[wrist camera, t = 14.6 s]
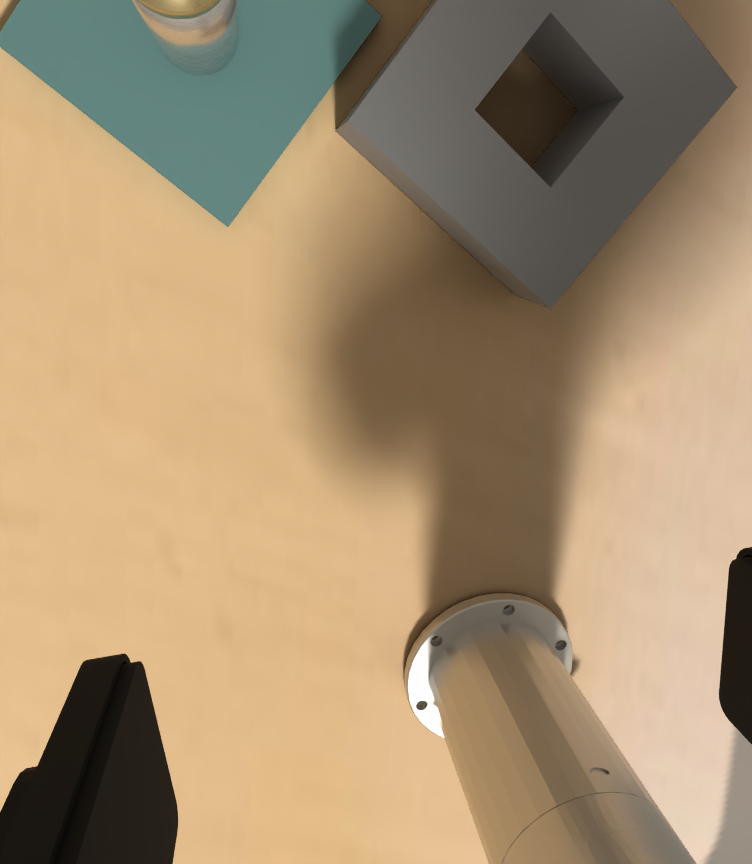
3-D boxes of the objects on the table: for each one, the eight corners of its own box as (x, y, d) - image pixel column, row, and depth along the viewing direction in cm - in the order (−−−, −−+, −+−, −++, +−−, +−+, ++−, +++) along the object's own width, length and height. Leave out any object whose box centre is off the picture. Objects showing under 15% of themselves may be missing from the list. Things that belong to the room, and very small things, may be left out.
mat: (379, 20, 34) (381, 16, 33) (228, 226, 36) (227, 227, 35) (158, -204, 29) (155, -215, 29) (0, 45, 31) (-7, 41, 31)
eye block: (677, 101, 38) (737, 87, 33) (515, 295, 40) (550, 308, 35) (508, -103, 33) (550, -152, 28) (335, 131, 35) (347, 120, 30)
